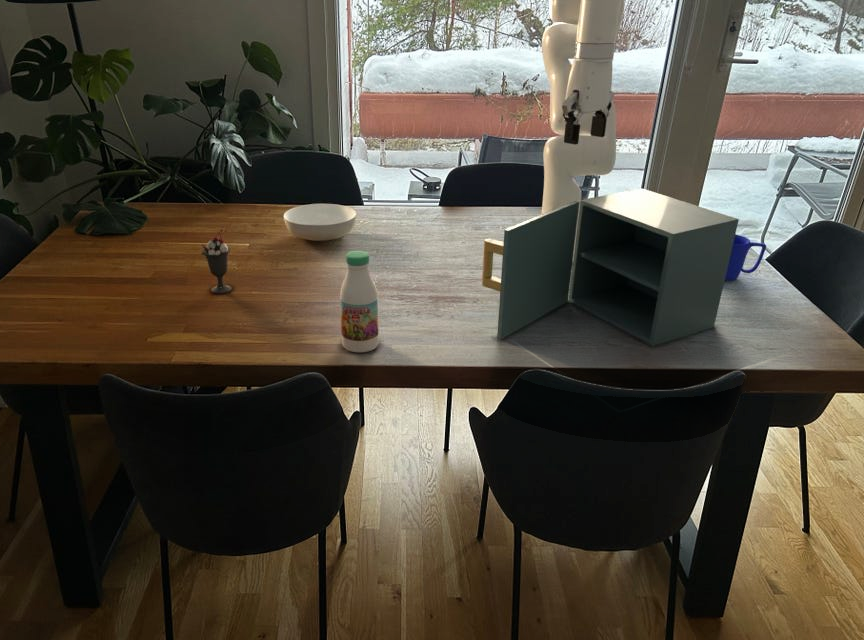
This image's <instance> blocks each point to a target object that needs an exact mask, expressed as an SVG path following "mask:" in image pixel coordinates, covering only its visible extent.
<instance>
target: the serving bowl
mask: <svg viewBox="0 0 864 640" xmlns="http://www.w3.org/2000/svg"><path fill="white" fill-rule="evenodd" d="M283 221H284V224H285V226H286V228H287V229H288V231H289V232H290V234H292V235H294V236H295V237H297V238H300V239H302V240H305V241H306V240H307V241H313V242H327V241H332V240H335V239H339V238H341V237H343V236H345V235H348V233H350V232H351V231H352V229H353V228H354V226H355V224H356V221H357V212H356V210H355V209H353V208H351V207H349V206H346V205H341V204H334V203H311V204H304V205H300V206H295V207H292V208H290V209H288V210H287V211H285V212H284V213H283Z"/></svg>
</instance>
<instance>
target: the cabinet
mask: <svg viewBox="0 0 864 640" xmlns="http://www.w3.org/2000/svg"><path fill="white" fill-rule="evenodd" d="M739 221H740V219H739V218H737V217H733V216H731V215H727V214H724V213H721V212H718V211H715V210H711V209H708V208H705V207H702V206H699V205H695V204H693V203H689V202H687V201H683V200H680V199H676V198H673V197H671V196H667V195H663V194H661V193H658V192H655V191H652V190H648V189H645V188H637V189H631V190H625V191H621V192H616V193H610V194H605V195H600V196H595V197H594V196H593V197H588V198H584V199H581V200H580V208H579V216H578V225H577V233H576V242H575V250H574V258H573V263H572V269H571V277H570V286H569V294H568V302H570V303H572V304H574V305H575V306H577V307H579V308H581V309H583V310H584V311H587V312H588V313H591V314H592V315H594V316H596V317H598V318H600V319H602V321H605V322H607V323H609V324H611V325H612V326H615V327H616V328H618V329H619V330H622V331H624V332H626V333H627V334H629V335H630V336H633V337H635V338H637V339H639V340H640V341H643V342H644V343H646V344H648V345H649V346H652V347H653V346H657V345H661V344H665V343H666V342H670V341H674V340H676V339H680V338H682V337H686V336H690V335H692V334H696V333H699V332H702V331H705V330H709V329H712V328H714V327H715V324H716V319H717V315H718V312H719V308H720V303H721V300H722V299H721V298H722V295H723V290H724V286H725V282H726V281H725V277H726V273H727V268H728V264H729V260H730V255H731V251H732V247H733V242H734V238H735V234H736V233H737V229H738V224H739ZM736 235H737V234H736Z"/></svg>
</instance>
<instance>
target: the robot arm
mask: <svg viewBox="0 0 864 640" xmlns="http://www.w3.org/2000/svg"><path fill="white" fill-rule="evenodd" d="M548 2H549V3H548V4H549V5H548V10H549V17H550V19H551V21H552V22H553V24H551V25H550V26H548V27H547V28H546V29H545V30H544V32H543V34H542V39H541V41H542V42H541V52H542V60H543V61H542V62H543V65H544V69H545V73H546V76H547V78H548V81H549V82H548V83H549V88H550V89H549V91H550V93H549V122H550V123H549V125H550V128H551V131H552V132H553V133H555V134H556V136H553V137H550V138H549V139H548V140H547V141H546V142H545V144H544V147H543V153H542V154H543V155H542V157H543V176H544V178H543V192H542V193H543V194H542V205H541V214H540V215H542V214H544V213H547V212H549V211H552V210H554V209H557V208H559V207H562V206H564V205H567V204H569V203H571V202H574V201H579V208H580V200H582V191H581V187H580V185H579V184H578V183H577V182H576V180H575V179H574V178H573V177H574V176H575V177H576V176H605V175H608V174H610V173H612V171H613V169H614V168H615V165H616V161H617V114H616V106H615V103H614V98H615V92H613V90H612V85H613V61H614V56H615V50H616V49H615V48H616V41H617V38H618V34H619V31H620V28H621V25H622V21H623V17H624V13H625V6H626V0H549V1H548ZM554 23H555V24H554ZM570 60H573V61H572V62H571V61H570ZM578 216H579V210H578ZM577 225H578V218H577ZM576 233H577V227H576ZM575 242H576V235H575ZM574 250H575V244H574ZM573 258H574V252H573ZM572 264H573V261H572Z"/></svg>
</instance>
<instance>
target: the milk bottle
mask: <svg viewBox="0 0 864 640" xmlns="http://www.w3.org/2000/svg"><path fill="white" fill-rule="evenodd" d="M345 265H346V268H347V269H346V274H345V276H344V279H343V281H342V284H341V287H340V293H339V299H340V300H339V307H340V308H339V310H340V331H341V333H340V334H341V344H342V345H341V346H343V348H344V349H345V350H347V351H349V352H351V353H352V352H353V353H368V352H371V351H373V350H375V349H376V348H377V347H378V345H379V343H380V342H379V341H380V327H379V326H380V325H379V324H380V323H379V321H380V320H379V297H378V296H379V295H378V289H377V285H376V283H375V280H374V279H373V277H372V275H371V273H370V269H369V266H370V254H369V252H367V251H363V250H353V251H350V252H347V253H346V254H345Z"/></svg>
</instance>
